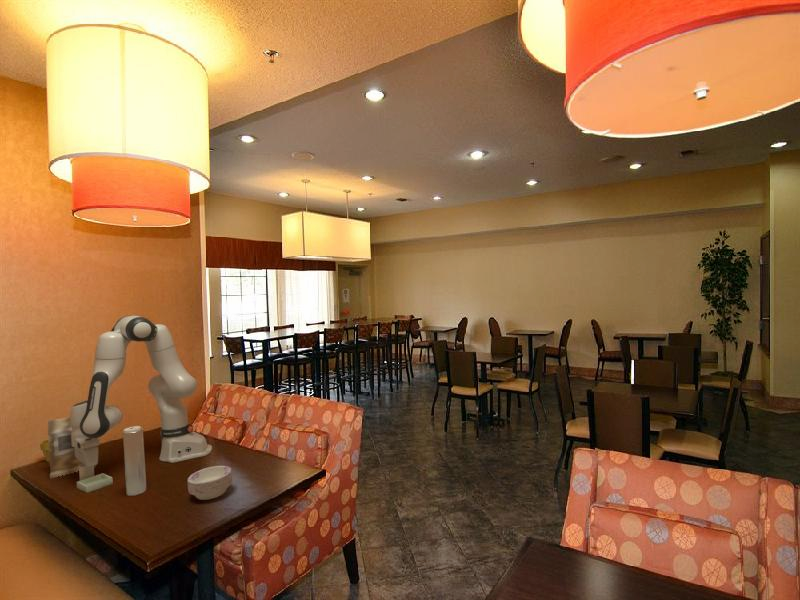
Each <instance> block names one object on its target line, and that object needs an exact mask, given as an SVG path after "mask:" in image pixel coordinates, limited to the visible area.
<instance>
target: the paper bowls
mask: <svg viewBox="0 0 800 600" xmlns="http://www.w3.org/2000/svg"><path fill="white" fill-rule="evenodd" d="M188 476H189V475H188ZM232 483H233V470H232V468H231V467H229V466H227V465H216V466H215V465H213V466H209V467H205V468H202V469H200V470H198V471H195V472H194V473H191V475H190V476H189V477H187V490H188V494H190V495H192V496H194V497H195V498H196V499H198V500H201V501H207V500H212V499H216V498H218V497H220V496H222V495H224V494H225V492H227V489H228V487H229V486H231V485H232Z"/></svg>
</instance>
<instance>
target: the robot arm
mask: <svg viewBox="0 0 800 600" xmlns="http://www.w3.org/2000/svg"><path fill="white" fill-rule="evenodd" d="M131 342H139V343H141V342H144V344H145V346H146V349H147V353H148V356H149V359H150V363H151V366H152V368H153V369H154V370H156V371H157V372H158V374H156V375H154V376H152V377H151V378H150V379H149V381H148V386H147V388H148V391H149V393H150V394H151V395H152V396H153V397H154V399H155V401H156V404H157V406H158V409H159V414H160V421H161V423H160V424H161V428H160V439H161V448H160V455H159V458H158V459H159V461H161V462H168V463H169V464H171V463H178V462H182V461H186V460H191V459H192V460H193V459H196V458H202V457H206V456H208V455H209V454H210V453H211V452H213V451H212V450H213V446H212V445H211V444H208V442H207V438H205V436H204V435H203V434H201V433H199V432H196V431H194V427H193V423H191V424H190V423H189V422H188V420H189V418H188V408H187V405H185V404H184V403H183V401H182V400H181V399H184V398H188V397H189V398H190V397H191V396H193V395H195V393H196V391H197V388H198V382H197V380H196V378H195V377H193V376H192V375H191V374H190V373H189V372H188V371H187V370H186V368H185V367H184V366H183V363H182V361H181V360H180V358H179V354H178V352H177V348H176V345H175V342H174V340H173V336H172V334H171V332H170V330H169V328H168V327H167V325H164V324H161V323H157V324H154V323H153V322H152V321H151V320H149V318H146V317H143V316H140V315H126V316H122V317H121V318H119V319H117V321H116V322H115V324H114V326H113V327H112V328H111V331H107V332H103V333H102V334H100V335H99V336H98V339H97V341H96V346H95V350H94V351H95V352H94V362H93V363H94V364H93V372H92V376H91V380H90V384H89V385H90V386H89V389H88V390H89V391H88V394H87V395H88V396H87V400H83V401H81V402H77V403H75V404H74V405H72V407H71V409H70V415H69V417H70V425H71V427H72V433H71V442H72V447H75V457H76V458H77V459H78V460H79V461H80V462H82V463H83V464H84V465H86V474H91V473H92V466H94V465H96V466H97V465H98V463H99V445H100V439H99V438H101V437H103V436H104V435H105V434H107V432H109V431H111V430H112V429H113V428H115V427H116V426H118V425H119V424H120V423H121V421H122V419H123V412H122V410H121V409H120V408H119V407H118V406H115V405H107V399H108V393H109V390H110V388H111V387H112V384H114V382H115V381H116V380H117V379H118V378H119V377H120V376H121V375H122V374H123V373H124V370H125V367H126V364H127V350H128V346H129V344H130V343H131Z"/></svg>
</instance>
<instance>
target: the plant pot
mask: <svg viewBox="0 0 800 600" xmlns="http://www.w3.org/2000/svg"><path fill="white" fill-rule="evenodd" d="M39 446H40V448H39V449H40V451H42V453H43V456H44V459H45V461H46V462H47V461H50V455H49V439H45V440H42V441H40V443H39Z"/></svg>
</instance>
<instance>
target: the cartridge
mask: <svg viewBox="0 0 800 600" xmlns="http://www.w3.org/2000/svg"><path fill="white" fill-rule="evenodd" d="M78 473H79V474H78V476H79V481H81V480H84V479H87V478H90V477H93V476H95V468H94V466H92V473H91V474H86V465H84V464H83V463H82V462H80V463H79V472H78Z"/></svg>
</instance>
